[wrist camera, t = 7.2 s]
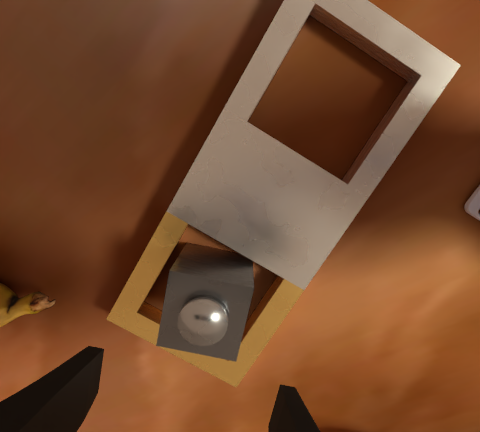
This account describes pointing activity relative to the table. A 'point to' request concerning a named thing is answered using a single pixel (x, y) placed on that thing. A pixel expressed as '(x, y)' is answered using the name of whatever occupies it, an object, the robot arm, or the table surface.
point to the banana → (20, 304)
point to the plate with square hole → (283, 177)
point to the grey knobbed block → (207, 302)
